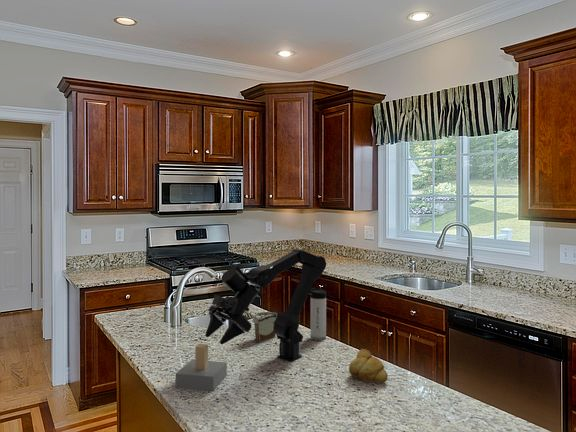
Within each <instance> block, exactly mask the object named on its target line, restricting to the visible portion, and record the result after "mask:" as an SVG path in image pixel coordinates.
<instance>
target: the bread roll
mask: <svg viewBox="0 0 576 432" xmlns="http://www.w3.org/2000/svg"><path fill="white" fill-rule="evenodd" d="M348 372H349V374H350V376H352V378H356V379H359V380H360V381H362V382H365V383H370V382H371V383H375V384H382V383H385V382H387V380H388V377H389V376H388V373H387V371H386V370H385V366H384V364H383V362H382V361H381V360H380V359H379V358H377V357H373V355H372V353H371V352H370V351H369V350H368V349H366V348H361V349H359V350H358V351H357V353H356V357H355V358H354V359H353V360H352V361H351V362H350V363H349V366H348Z"/></svg>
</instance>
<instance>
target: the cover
mask: <svg viewBox="0 0 576 432" xmlns="http://www.w3.org/2000/svg"><path fill="white" fill-rule="evenodd" d="M194 348H195V356H194V357H195V359H190V361H189V362H187V363H186V364H185V365H184V366H183V367H182V368H180V369H179V370H178V371H177V372H176V373H175V388H176V389H187V390H194V391H195V390H196V391H208V392H214V391H215V390H216V389H217V388H218V386H219V385H220V384H221V383H222V382H223V381H224V380H225V378H226V377H227V376H228V375H227V374H228V373H227V371H228V370H227V366H228V365H227V363H228V362H226V361H225V362H224V361H213V360H209V344H206V343H198V344H197V345H196V346H195V347H194Z"/></svg>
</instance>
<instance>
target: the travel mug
mask: <svg viewBox="0 0 576 432" xmlns="http://www.w3.org/2000/svg"><path fill="white" fill-rule="evenodd" d="M326 337H327V291H326V290H325V289H322V288H318V287H317V288H316V287H311V289H310V339H312V340H313V341H314V340H315V341H323V340H326Z"/></svg>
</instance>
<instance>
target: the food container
mask: <svg viewBox="0 0 576 432" xmlns="http://www.w3.org/2000/svg"><path fill="white" fill-rule="evenodd" d="M277 315H278V313H277V312H274V311H263V312H262V311H261V312H257V313H255V314H253V317H252V323H253V324H254V335H255V337H254V338H255V342H257V343H258V344H262V343H265V342H267V341H270V340H272V339H275V338H277V335H276V334H275V332H274V329H273V327H274V323H273V322H274V321H275V320H276V318H277Z"/></svg>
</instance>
